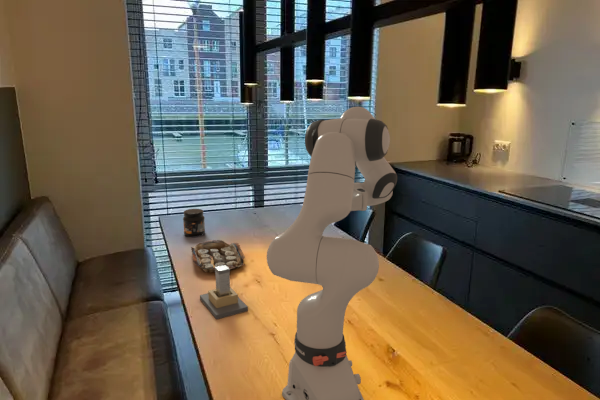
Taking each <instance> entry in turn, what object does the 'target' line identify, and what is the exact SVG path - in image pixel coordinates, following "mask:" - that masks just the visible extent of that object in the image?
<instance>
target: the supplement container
mask: <svg viewBox="0 0 600 400" xmlns="http://www.w3.org/2000/svg"><path fill="white" fill-rule="evenodd" d="M182 221H183V234H184V236H186V237H188V238H190V237H191V238H193V237H194V238H195V237H201V236H203V235H204V234H205V233H206V228H205V226H206V225H205V222H206V221H205V216H204V210H203V209H201V208H200V209H199V208H189V209H186V210H184V211H183V218H182Z"/></svg>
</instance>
